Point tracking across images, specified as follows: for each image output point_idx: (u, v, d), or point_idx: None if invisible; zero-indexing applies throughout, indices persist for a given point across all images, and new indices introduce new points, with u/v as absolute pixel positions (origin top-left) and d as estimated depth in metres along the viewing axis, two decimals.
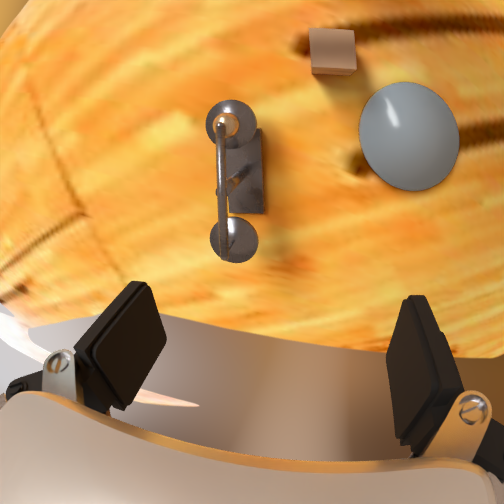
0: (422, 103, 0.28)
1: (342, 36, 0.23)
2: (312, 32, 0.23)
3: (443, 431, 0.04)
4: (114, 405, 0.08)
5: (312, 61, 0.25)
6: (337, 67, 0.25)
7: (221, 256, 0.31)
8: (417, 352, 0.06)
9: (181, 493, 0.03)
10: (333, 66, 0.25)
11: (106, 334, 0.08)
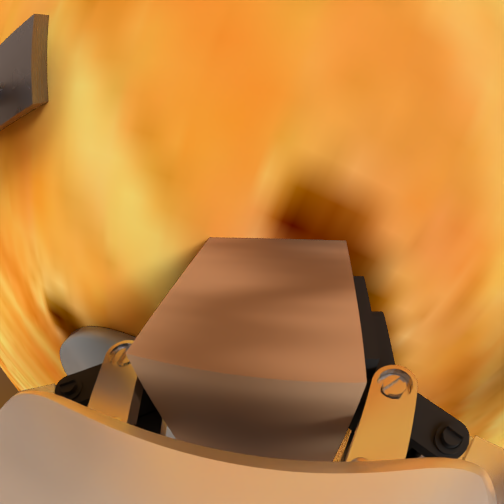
0: None
1: (304, 452, 0.06)
2: (333, 392, 0.05)
3: None
4: None
5: (152, 363, 0.05)
6: None
7: None
8: None
9: (181, 493, 0.03)
10: (162, 411, 0.07)
11: None
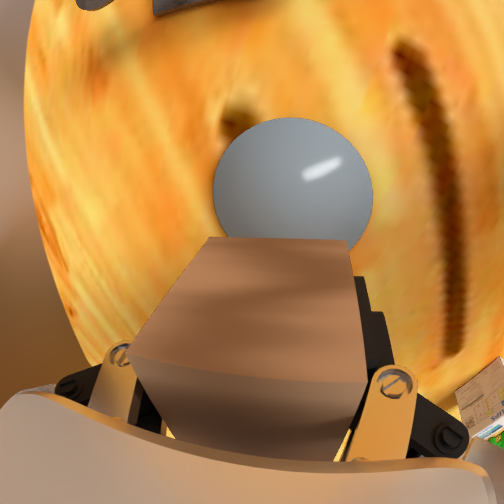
0: (344, 213, 0.25)
1: (304, 452, 0.06)
2: (334, 392, 0.05)
3: None
4: None
5: (152, 363, 0.05)
6: None
7: None
8: None
9: (181, 493, 0.03)
10: (162, 411, 0.07)
11: None
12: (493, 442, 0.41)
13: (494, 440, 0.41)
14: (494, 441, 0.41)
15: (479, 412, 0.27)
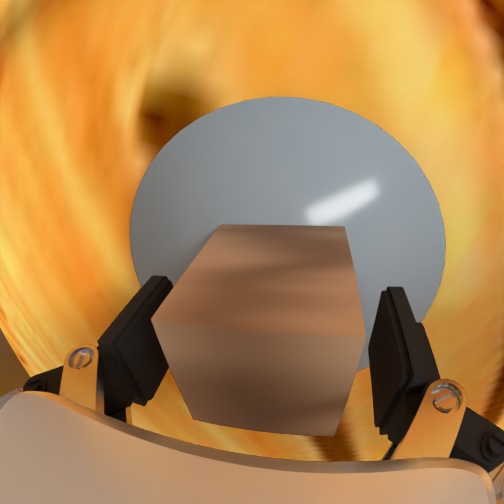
0: None
1: (310, 417, 0.07)
2: (337, 347, 0.06)
3: (414, 417, 0.05)
4: (135, 401, 0.08)
5: (176, 326, 0.06)
6: None
7: None
8: (392, 340, 0.07)
9: (181, 493, 0.03)
10: (179, 379, 0.08)
11: (131, 328, 0.08)
12: None
13: None
14: None
15: None
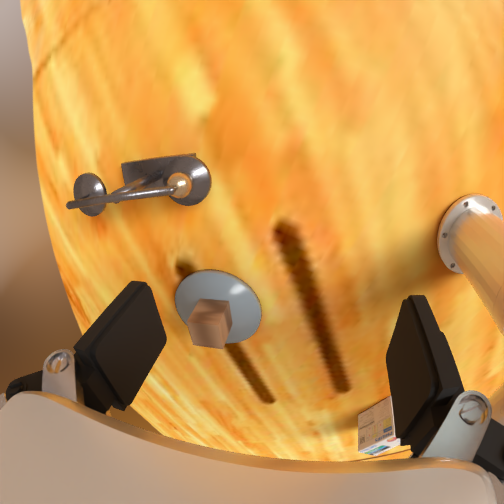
0: (245, 319, 0.46)
1: (215, 342, 0.42)
2: (214, 326, 0.40)
3: (443, 431, 0.04)
4: (114, 406, 0.08)
5: (190, 322, 0.41)
6: (191, 335, 0.42)
7: (68, 204, 0.29)
8: (417, 352, 0.06)
9: (181, 493, 0.03)
10: (190, 333, 0.42)
11: (106, 334, 0.08)
12: None
13: None
14: None
15: (369, 433, 0.48)
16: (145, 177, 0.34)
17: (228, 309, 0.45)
